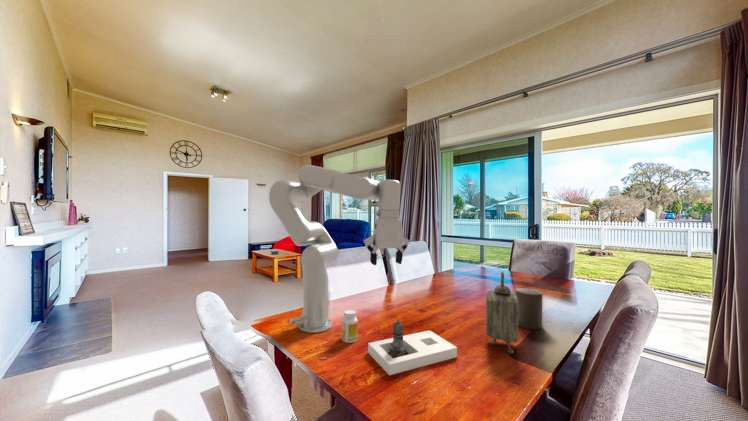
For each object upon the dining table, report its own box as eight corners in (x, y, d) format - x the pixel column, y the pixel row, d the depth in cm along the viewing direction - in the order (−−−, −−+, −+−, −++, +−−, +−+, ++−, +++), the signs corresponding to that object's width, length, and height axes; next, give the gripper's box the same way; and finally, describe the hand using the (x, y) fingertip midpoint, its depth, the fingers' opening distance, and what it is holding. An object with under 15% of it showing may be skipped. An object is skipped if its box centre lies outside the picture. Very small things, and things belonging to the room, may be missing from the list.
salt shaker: (406, 364, 86) (406, 323, 86) (386, 361, 87) (387, 321, 87) (408, 354, 92) (408, 316, 92) (389, 352, 93) (390, 314, 93)
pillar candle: (536, 332, 110) (537, 292, 110) (510, 324, 118) (511, 286, 118) (545, 325, 117) (546, 288, 117) (520, 318, 124) (521, 283, 124)
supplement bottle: (359, 337, 104) (360, 310, 103) (353, 344, 98) (354, 315, 98) (345, 335, 105) (346, 308, 105) (339, 341, 100) (339, 313, 100)
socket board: (389, 375, 80) (389, 364, 80) (368, 352, 93) (368, 343, 93) (456, 357, 91) (457, 347, 91) (429, 338, 103) (429, 330, 103)
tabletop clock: (517, 358, 91) (518, 277, 91) (486, 352, 94) (487, 275, 94) (512, 338, 104) (513, 269, 104) (485, 334, 107) (486, 266, 107)
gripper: (369, 215, 95) (367, 267, 96) (415, 216, 102) (413, 264, 103) (361, 214, 102) (359, 262, 103) (404, 215, 109) (402, 260, 109)
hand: (386, 263), depth 103 cm, fingers open, 9 cm apart
